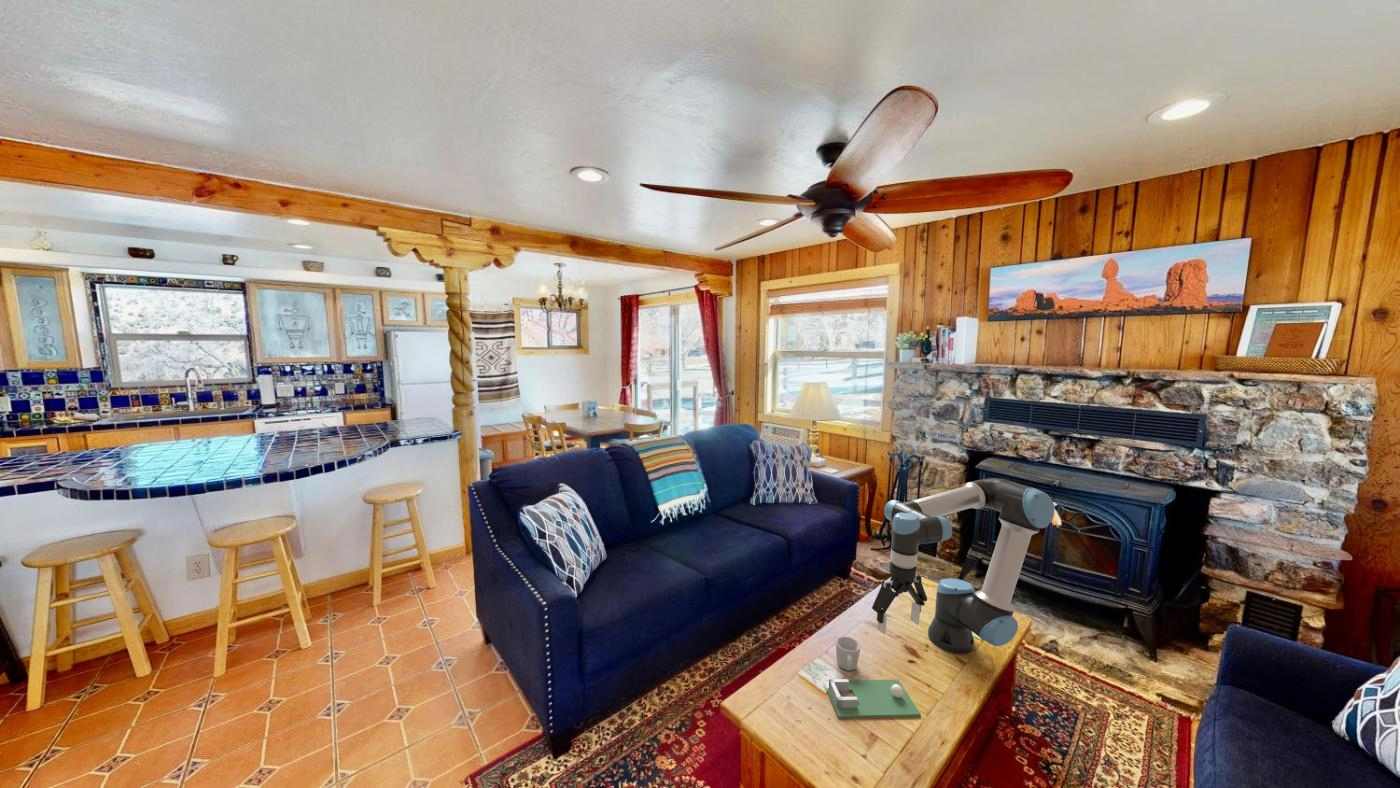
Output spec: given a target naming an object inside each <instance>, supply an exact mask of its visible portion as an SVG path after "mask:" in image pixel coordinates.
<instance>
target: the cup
mask: <svg viewBox="0 0 1400 788" xmlns="http://www.w3.org/2000/svg"><path fill="white" fill-rule="evenodd" d="M835 651H836V663H837V664H838V666H839V667H840V668H842V669H843V670H845V671H854V670H855V669H857V666H858V663H859V662H858V661H859V656H860V652H861V644H860V642H858V641H857V640H856V639H855V638H853V637H850V636H846V635H845V636H839V637H838V638H837V639H836V640H835Z"/></svg>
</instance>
